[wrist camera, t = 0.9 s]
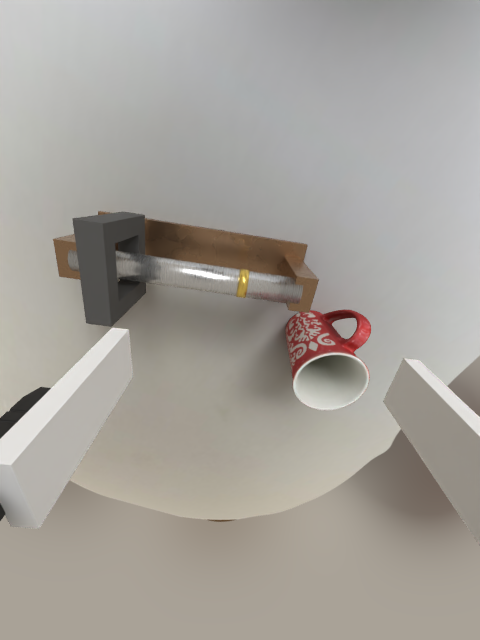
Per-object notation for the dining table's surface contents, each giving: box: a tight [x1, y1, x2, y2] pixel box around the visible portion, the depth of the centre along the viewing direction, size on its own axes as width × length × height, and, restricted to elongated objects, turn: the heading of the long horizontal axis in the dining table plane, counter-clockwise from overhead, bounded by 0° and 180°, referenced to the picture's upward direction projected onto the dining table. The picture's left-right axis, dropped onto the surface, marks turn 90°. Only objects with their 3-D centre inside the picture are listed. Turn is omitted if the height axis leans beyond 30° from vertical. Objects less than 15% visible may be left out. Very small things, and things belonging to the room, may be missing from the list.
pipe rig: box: [53, 211, 319, 313], centre depth 32 cm, size 29×8×12 cm, turn 81°
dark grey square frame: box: [73, 212, 146, 327], centre depth 28 cm, size 2×10×10 cm, turn 171°
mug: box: [286, 310, 371, 410], centre depth 36 cm, size 13×9×14 cm
